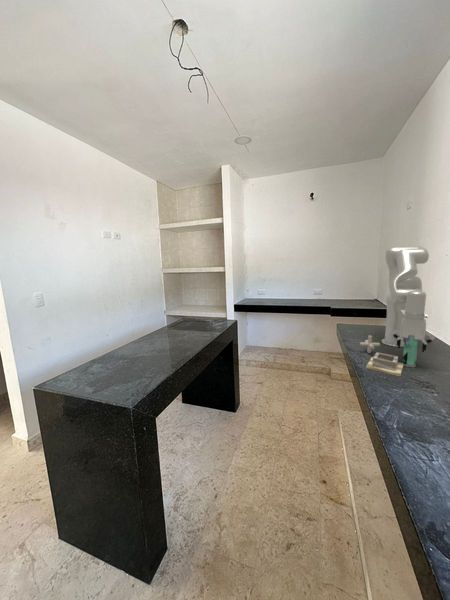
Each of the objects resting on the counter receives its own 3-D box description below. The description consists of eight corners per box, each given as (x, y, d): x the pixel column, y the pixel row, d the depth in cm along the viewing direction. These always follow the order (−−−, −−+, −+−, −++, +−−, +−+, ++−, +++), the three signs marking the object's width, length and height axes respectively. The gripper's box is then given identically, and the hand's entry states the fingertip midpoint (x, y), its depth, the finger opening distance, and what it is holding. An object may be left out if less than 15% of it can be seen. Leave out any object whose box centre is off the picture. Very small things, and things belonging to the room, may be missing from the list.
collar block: (371, 358, 132) (372, 349, 131) (403, 365, 123) (404, 356, 122) (366, 368, 122) (366, 358, 121) (400, 376, 113) (401, 366, 112)
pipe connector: (382, 356, 135) (383, 339, 133) (362, 355, 137) (363, 338, 135) (375, 349, 145) (376, 333, 143) (356, 348, 147) (357, 333, 145)
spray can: (413, 363, 125) (418, 326, 122) (416, 367, 120) (421, 329, 117) (401, 361, 128) (404, 325, 124) (403, 366, 123) (407, 328, 119)
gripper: (437, 316, 117) (433, 350, 119) (393, 312, 128) (391, 343, 131) (437, 320, 111) (433, 355, 114) (391, 315, 122) (389, 347, 125)
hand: (410, 349), depth 122 cm, fingers open, 9 cm apart
